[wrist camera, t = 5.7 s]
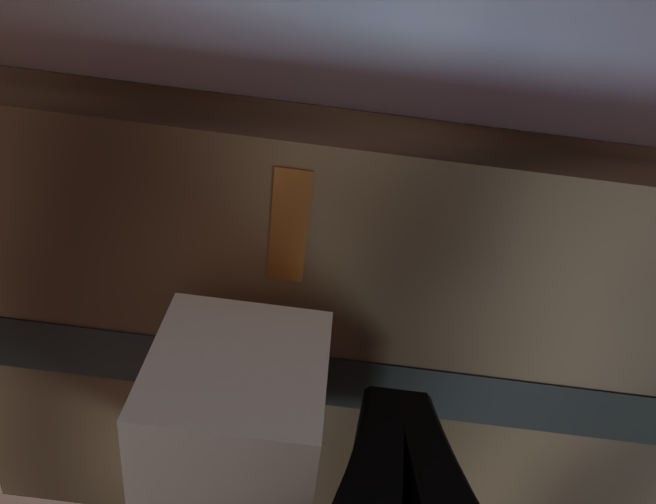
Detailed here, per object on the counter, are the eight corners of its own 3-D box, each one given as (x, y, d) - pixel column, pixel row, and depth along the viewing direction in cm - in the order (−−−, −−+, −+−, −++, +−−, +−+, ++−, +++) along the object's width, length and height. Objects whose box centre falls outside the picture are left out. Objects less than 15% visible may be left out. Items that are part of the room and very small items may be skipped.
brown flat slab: (945, 184, 13) (1036, 235, 11) (709, 516, 18) (743, 584, 17) (-41, 60, 12) (-108, 92, 11) (37, 435, 18) (2, 494, 17)
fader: (334, 299, 12) (321, 446, 9) (310, 467, 15) (294, 624, 12) (181, 280, 12) (116, 421, 9) (184, 452, 15) (136, 605, 12)
